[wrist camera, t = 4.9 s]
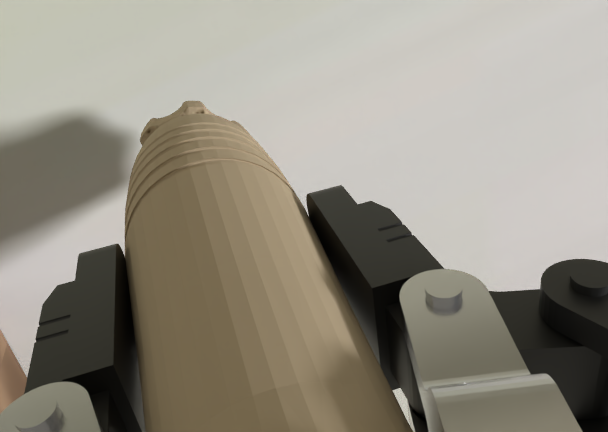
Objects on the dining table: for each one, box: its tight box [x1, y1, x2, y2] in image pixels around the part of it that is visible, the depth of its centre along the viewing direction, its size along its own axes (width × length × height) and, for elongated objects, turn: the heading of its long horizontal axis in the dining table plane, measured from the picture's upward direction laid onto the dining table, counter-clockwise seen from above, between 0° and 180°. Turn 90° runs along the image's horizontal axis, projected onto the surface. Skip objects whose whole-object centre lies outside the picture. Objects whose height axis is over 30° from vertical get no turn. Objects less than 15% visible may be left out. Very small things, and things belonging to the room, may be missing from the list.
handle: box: [125, 101, 413, 432], centre depth 11 cm, size 5×6×15 cm
